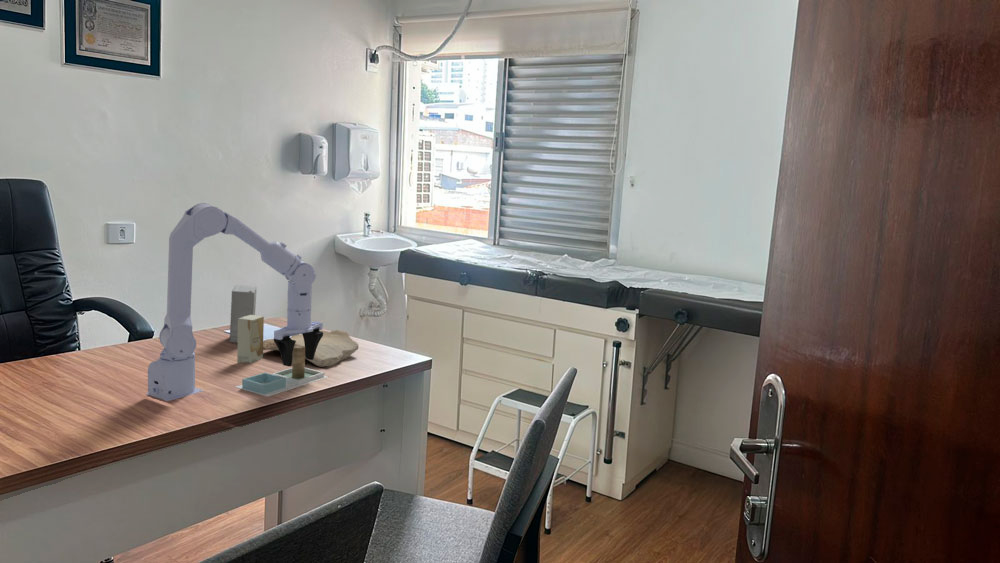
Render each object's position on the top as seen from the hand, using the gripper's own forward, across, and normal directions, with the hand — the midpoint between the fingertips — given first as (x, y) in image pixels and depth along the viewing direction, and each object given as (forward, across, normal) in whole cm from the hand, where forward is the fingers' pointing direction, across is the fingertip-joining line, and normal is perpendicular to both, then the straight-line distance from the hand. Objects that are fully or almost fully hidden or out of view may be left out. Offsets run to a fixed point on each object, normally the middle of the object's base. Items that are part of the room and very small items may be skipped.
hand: (298, 362), depth 178 cm
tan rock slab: (+5, +18, +14) cm, 23 cm away
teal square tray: (+4, -11, 0) cm, 12 cm away
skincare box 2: (+5, +3, +20) cm, 21 cm away
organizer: (+4, -5, 0) cm, 7 cm away
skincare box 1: (+5, +17, +40) cm, 43 cm away
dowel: (+4, 0, 0) cm, 4 cm away
